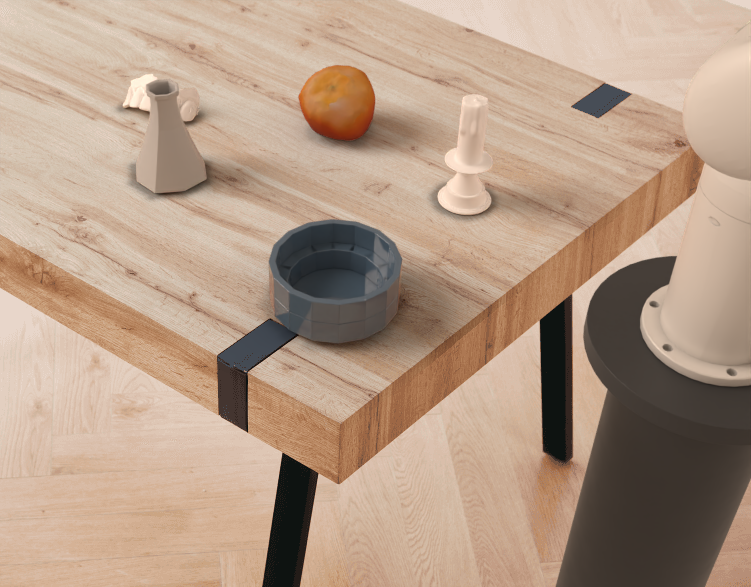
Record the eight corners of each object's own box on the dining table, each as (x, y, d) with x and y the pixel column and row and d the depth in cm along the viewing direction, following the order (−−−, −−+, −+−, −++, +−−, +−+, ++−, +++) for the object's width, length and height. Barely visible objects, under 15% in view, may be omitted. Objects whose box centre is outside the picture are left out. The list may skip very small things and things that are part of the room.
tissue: (172, 134, 114) (169, 103, 111) (118, 109, 117) (113, 78, 114) (207, 112, 117) (205, 81, 115) (153, 88, 120) (150, 57, 118)
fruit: (396, 103, 117) (382, 64, 110) (366, 165, 115) (349, 129, 108) (332, 83, 120) (313, 43, 112) (301, 143, 118) (280, 107, 111)
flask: (124, 164, 109) (112, 77, 103) (191, 147, 112) (183, 61, 105) (149, 203, 105) (139, 114, 98) (218, 183, 107) (212, 96, 101)
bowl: (420, 289, 97) (424, 246, 93) (358, 365, 89) (359, 321, 86) (314, 248, 100) (314, 205, 97) (246, 317, 93) (243, 273, 90)
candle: (498, 212, 106) (513, 107, 98) (446, 218, 105) (457, 112, 97) (481, 181, 109) (494, 77, 102) (430, 187, 108) (440, 82, 100)
